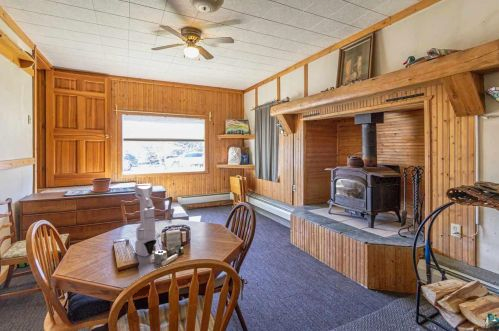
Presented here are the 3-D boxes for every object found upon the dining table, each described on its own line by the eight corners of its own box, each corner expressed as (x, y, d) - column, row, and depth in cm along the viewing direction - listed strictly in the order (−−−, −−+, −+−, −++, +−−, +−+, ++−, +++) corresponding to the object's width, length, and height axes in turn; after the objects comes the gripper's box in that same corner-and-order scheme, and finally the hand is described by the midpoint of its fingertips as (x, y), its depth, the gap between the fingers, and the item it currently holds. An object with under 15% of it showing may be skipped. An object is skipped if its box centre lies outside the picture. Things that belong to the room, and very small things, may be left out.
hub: (154, 262, 151) (154, 252, 151) (160, 259, 156) (160, 249, 155) (160, 264, 149) (160, 254, 149) (167, 261, 154) (166, 250, 153)
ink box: (179, 245, 177) (179, 228, 176) (181, 248, 172) (180, 231, 171) (166, 248, 173) (166, 230, 172) (167, 250, 168) (167, 233, 167)
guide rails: (150, 262, 152) (150, 259, 152) (164, 254, 163) (164, 251, 163) (163, 265, 148) (163, 262, 148) (177, 257, 159) (177, 254, 159)
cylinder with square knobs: (167, 255, 162) (167, 248, 162) (176, 250, 169) (176, 243, 169) (175, 256, 160) (174, 249, 159) (183, 251, 167) (183, 245, 167)
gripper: (144, 234, 135) (145, 260, 136) (164, 226, 148) (164, 249, 150) (134, 232, 138) (135, 257, 139) (155, 225, 151) (155, 247, 152)
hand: (150, 253), depth 145 cm, fingers closed
